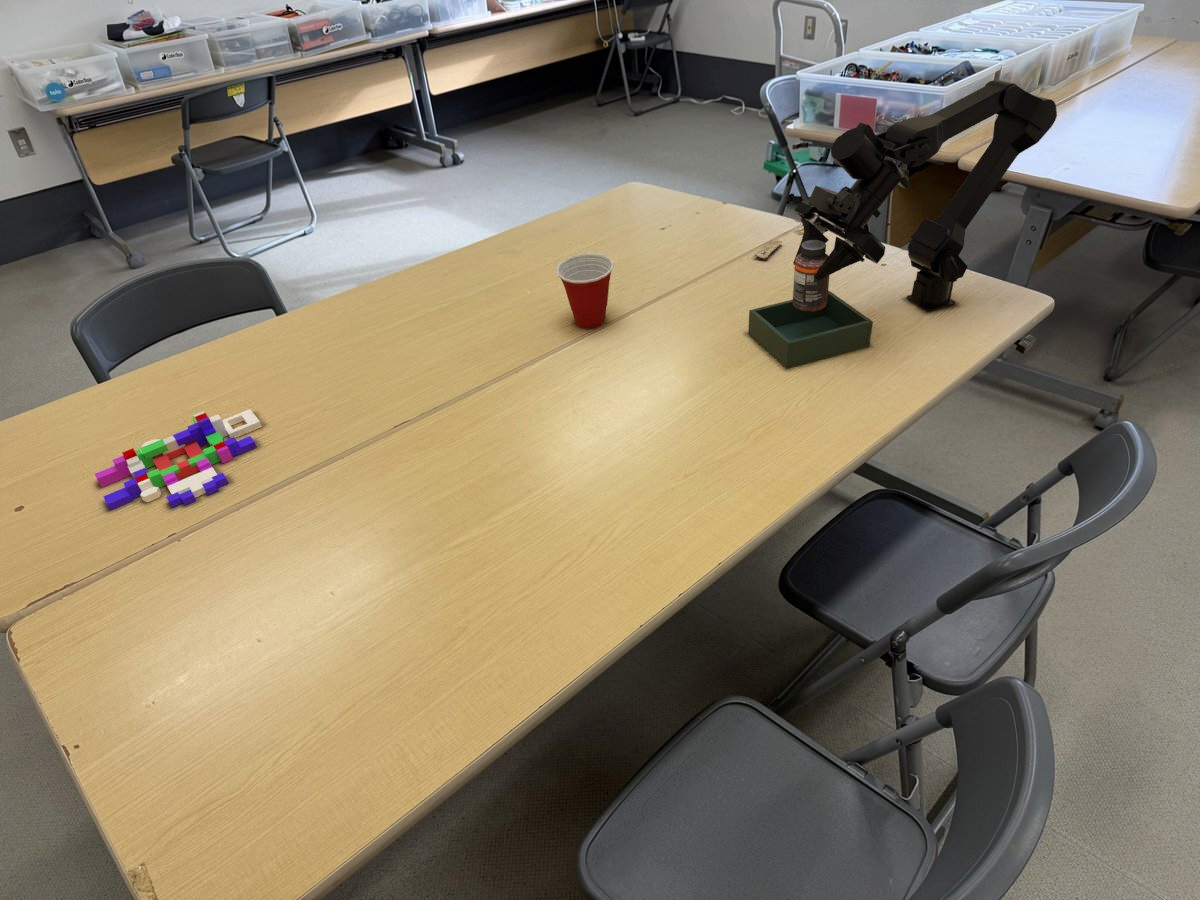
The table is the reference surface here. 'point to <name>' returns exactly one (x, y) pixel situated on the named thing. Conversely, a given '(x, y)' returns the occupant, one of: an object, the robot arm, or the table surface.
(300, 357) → the table surface
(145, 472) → the building block set
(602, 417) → the table surface
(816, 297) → the supplement bottle
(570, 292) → the plastic cup
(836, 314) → the bin
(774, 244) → the snack bar
